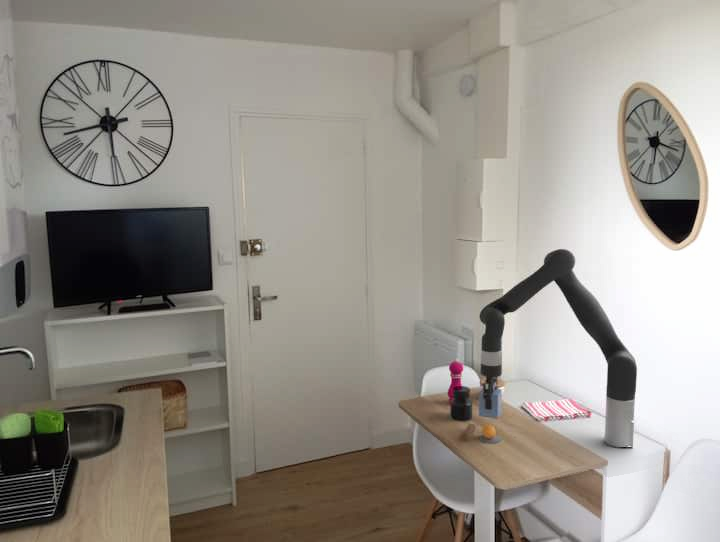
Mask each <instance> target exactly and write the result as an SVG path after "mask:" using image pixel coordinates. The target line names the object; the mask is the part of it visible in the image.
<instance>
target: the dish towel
mask: <svg viewBox="0 0 720 542" xmlns="http://www.w3.org/2000/svg"><path fill="white" fill-rule="evenodd" d="M521 407H522V408H523V409H524V410H525V411H526V412H527V413H528V412H529V415H530V416H531V417H533V419H535V420H536V419H537V420H536V421H538V422H541V421H544V422H551V420H554V421H561V420H562V421H563V420H573V419H585V418H586V419H587V418H591V416H593V415H592V413H593V412H592V410H590V409H587V408H583V407H582V406H580V404H578V403H577V402H576V401H575V400H574V399H573V398H566V399H560V400H559V399H558V400H547V401H532V402H523V403H521ZM541 423H542V422H541Z"/></svg>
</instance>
